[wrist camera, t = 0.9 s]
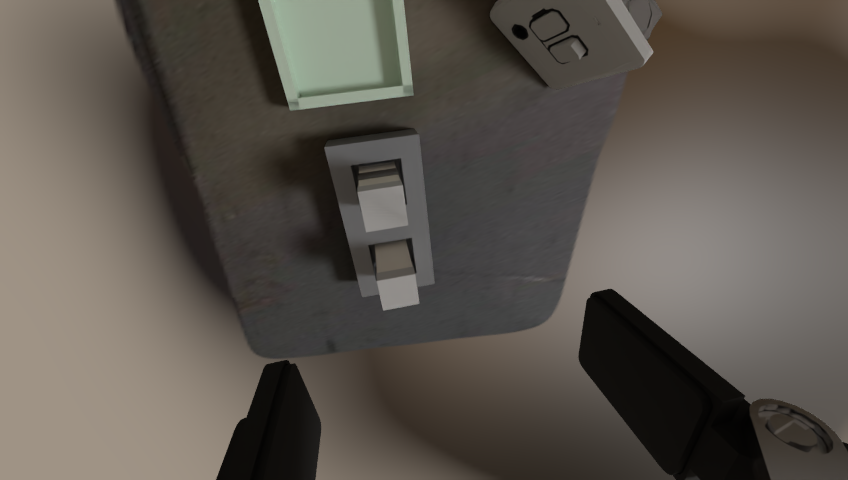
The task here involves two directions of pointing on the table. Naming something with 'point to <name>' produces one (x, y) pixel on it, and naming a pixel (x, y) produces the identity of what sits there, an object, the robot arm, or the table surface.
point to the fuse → (395, 275)
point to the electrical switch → (578, 36)
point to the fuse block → (344, 174)
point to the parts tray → (339, 50)
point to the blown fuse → (381, 196)
